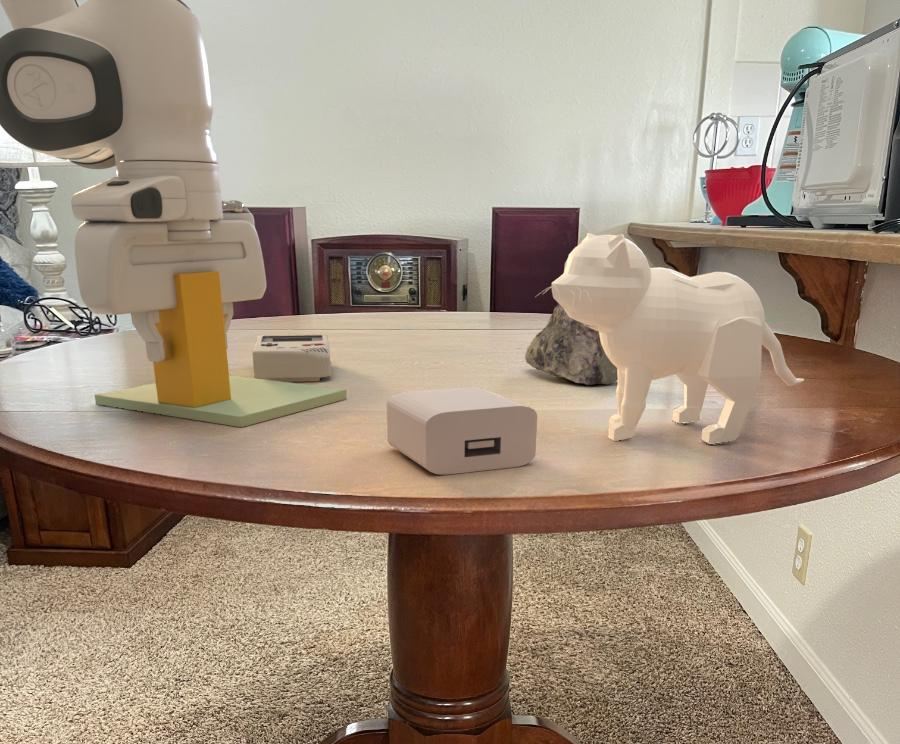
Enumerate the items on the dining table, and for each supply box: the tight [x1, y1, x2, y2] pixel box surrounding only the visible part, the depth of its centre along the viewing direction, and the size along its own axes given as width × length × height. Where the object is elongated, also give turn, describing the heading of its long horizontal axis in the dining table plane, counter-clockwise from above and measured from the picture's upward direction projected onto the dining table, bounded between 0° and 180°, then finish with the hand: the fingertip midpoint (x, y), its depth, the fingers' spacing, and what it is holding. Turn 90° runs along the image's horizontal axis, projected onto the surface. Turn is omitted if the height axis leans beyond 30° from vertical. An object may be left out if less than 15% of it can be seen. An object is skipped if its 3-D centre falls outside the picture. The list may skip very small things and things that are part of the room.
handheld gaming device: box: [252, 333, 332, 383], centre depth 109 cm, size 9×15×4 cm, turn 9°
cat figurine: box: [535, 232, 805, 443], centre depth 77 cm, size 25×10×17 cm, turn 102°
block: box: [152, 271, 231, 408], centre depth 85 cm, size 5×5×12 cm
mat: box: [94, 374, 348, 428], centre depth 92 cm, size 20×16×1 cm
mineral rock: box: [524, 303, 618, 386], centre depth 105 cm, size 13×11×10 cm
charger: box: [386, 386, 538, 476], centre depth 74 cm, size 5×9×15 cm
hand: (189, 355), depth 86 cm, fingers open, 6 cm apart
